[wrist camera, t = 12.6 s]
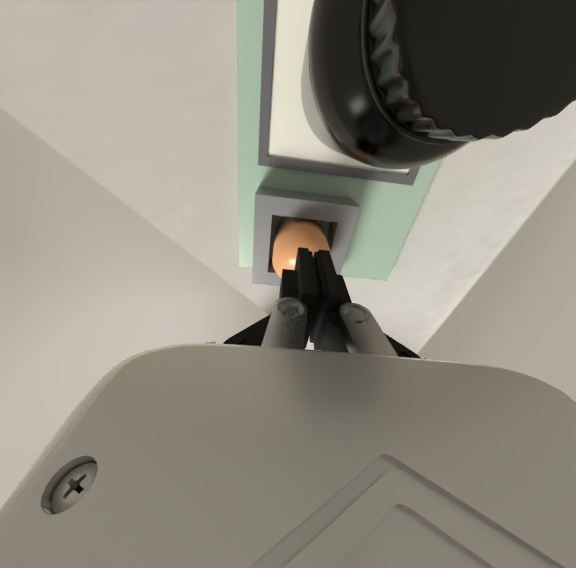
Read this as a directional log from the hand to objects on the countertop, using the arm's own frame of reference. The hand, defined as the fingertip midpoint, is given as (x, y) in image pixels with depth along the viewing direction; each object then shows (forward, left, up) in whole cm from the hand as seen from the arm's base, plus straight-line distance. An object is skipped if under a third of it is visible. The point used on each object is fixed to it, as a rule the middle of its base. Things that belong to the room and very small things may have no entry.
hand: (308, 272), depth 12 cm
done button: (+1, 0, -7) cm, 7 cm away
